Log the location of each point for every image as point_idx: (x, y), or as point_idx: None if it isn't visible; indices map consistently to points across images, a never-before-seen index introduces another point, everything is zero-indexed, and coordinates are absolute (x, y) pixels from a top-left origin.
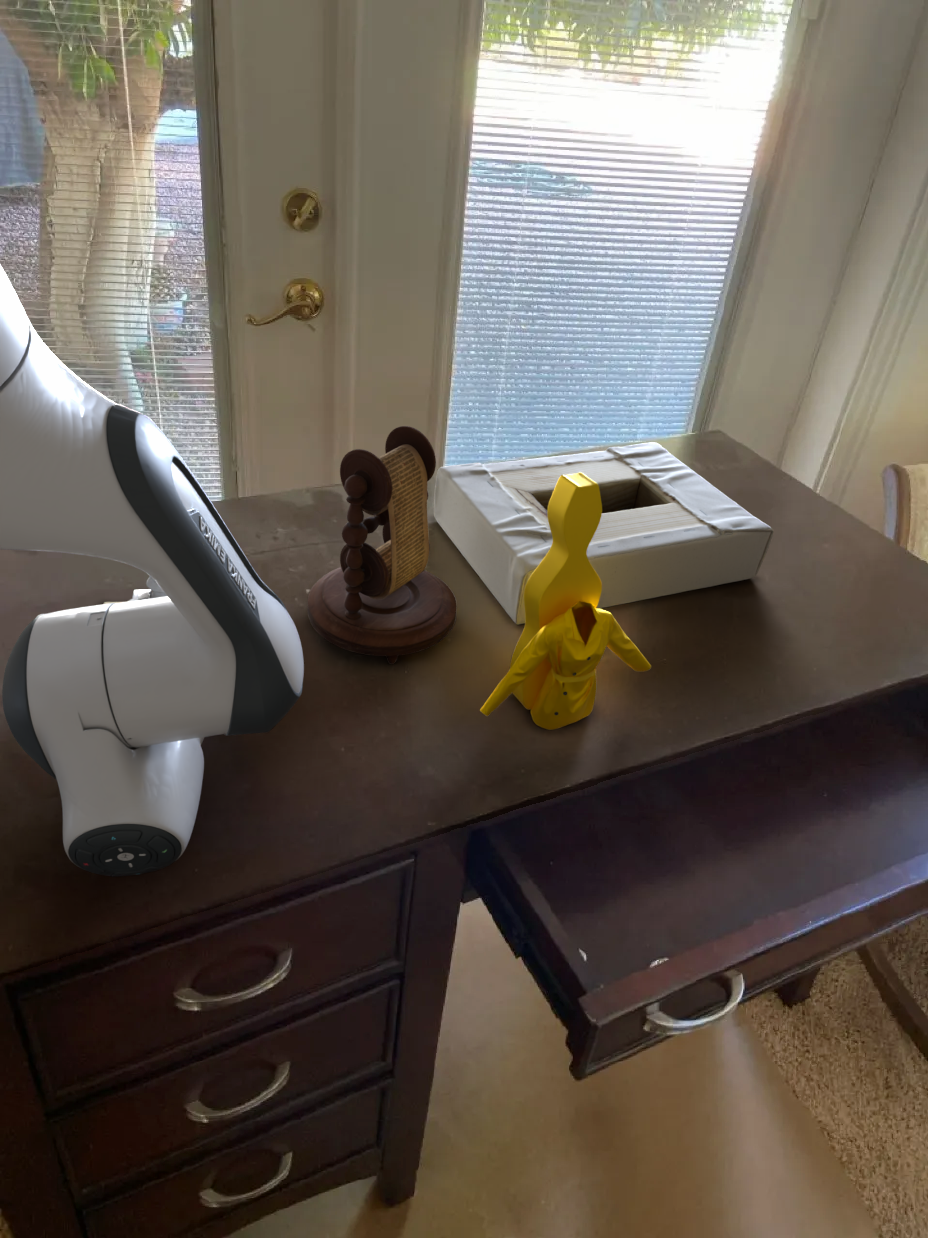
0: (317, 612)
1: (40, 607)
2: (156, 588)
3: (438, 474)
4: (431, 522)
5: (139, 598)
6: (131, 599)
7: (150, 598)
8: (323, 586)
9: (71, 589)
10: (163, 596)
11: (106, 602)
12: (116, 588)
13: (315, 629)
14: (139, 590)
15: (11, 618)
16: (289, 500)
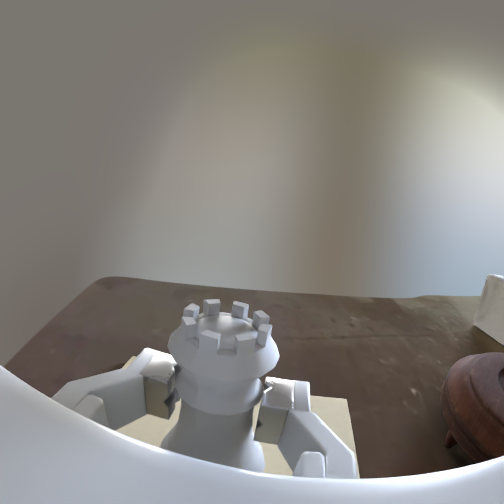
0: (483, 431)
1: (67, 336)
2: (189, 360)
3: (488, 280)
4: (471, 326)
5: (143, 373)
6: (123, 369)
7: (174, 381)
8: (471, 386)
9: (111, 328)
10: (207, 389)
11: (135, 357)
12: (159, 343)
13: (474, 460)
14: (155, 352)
15: (34, 336)
16: (352, 296)
